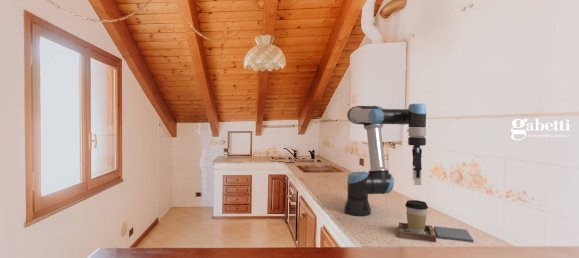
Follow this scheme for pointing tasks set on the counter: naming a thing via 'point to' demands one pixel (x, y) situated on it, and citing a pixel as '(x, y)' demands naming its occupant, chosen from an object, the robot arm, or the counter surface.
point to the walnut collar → (416, 235)
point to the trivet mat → (453, 234)
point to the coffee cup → (416, 215)
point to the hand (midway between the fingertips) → (416, 182)
